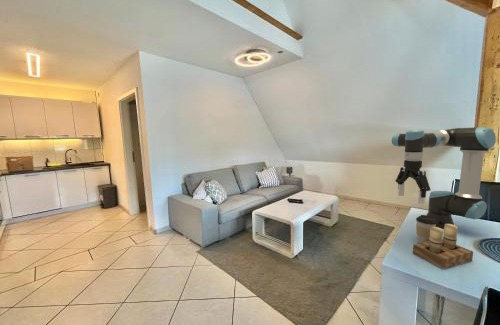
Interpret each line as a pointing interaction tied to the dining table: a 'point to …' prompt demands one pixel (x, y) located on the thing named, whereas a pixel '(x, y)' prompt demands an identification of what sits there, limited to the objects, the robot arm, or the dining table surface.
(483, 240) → the dining table surface
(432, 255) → the board
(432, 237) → the peg
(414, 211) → the dining table surface
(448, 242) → the peg
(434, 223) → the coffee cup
